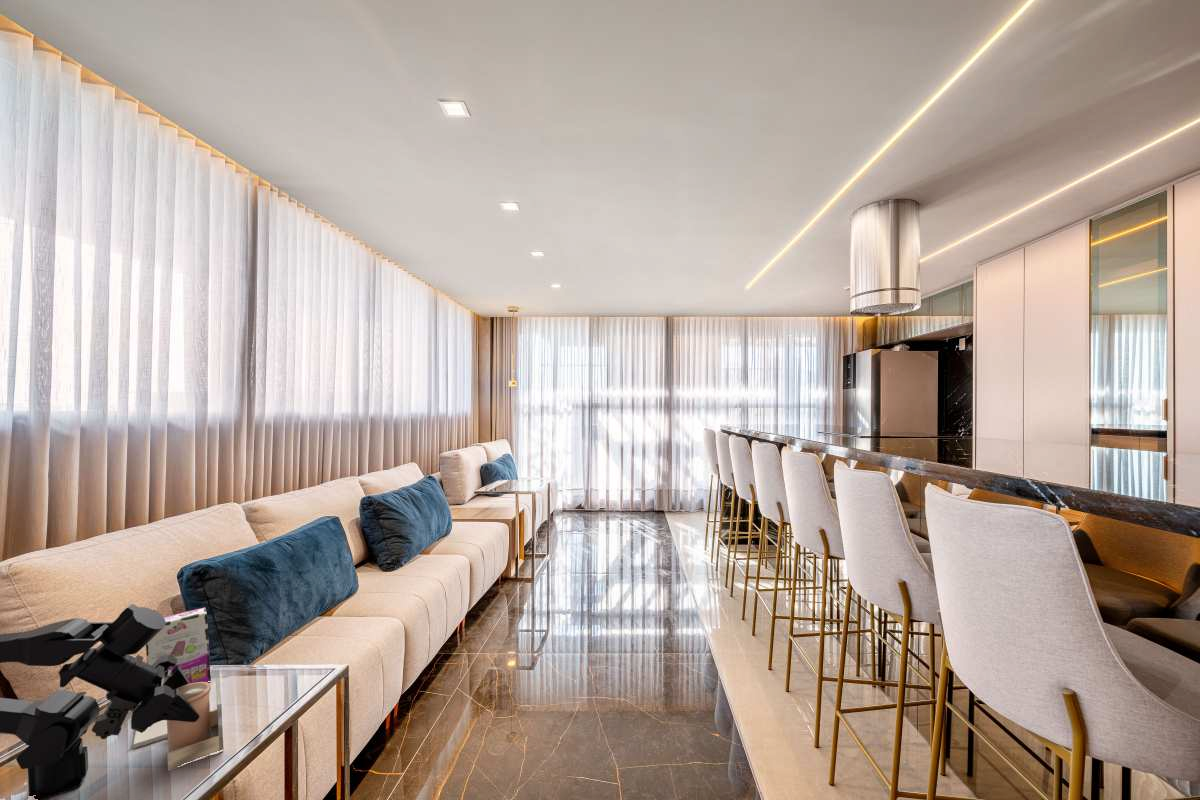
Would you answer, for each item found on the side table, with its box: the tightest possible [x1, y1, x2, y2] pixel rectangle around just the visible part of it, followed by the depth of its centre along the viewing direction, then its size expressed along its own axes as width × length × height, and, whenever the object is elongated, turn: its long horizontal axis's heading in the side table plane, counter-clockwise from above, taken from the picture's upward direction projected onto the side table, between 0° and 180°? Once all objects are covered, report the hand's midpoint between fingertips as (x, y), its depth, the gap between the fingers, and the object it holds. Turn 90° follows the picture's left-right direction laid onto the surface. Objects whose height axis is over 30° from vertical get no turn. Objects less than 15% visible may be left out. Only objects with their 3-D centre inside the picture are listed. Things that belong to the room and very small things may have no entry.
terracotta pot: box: [167, 682, 212, 753], centre depth 101 cm, size 7×7×11 cm
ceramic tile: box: [132, 720, 168, 749], centre depth 107 cm, size 9×9×1 cm
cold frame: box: [167, 677, 224, 772], centre depth 101 cm, size 8×12×9 cm
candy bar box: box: [145, 607, 212, 684], centre depth 122 cm, size 11×5×16 cm, turn 129°
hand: (197, 709), depth 101 cm, fingers open, 7 cm apart
